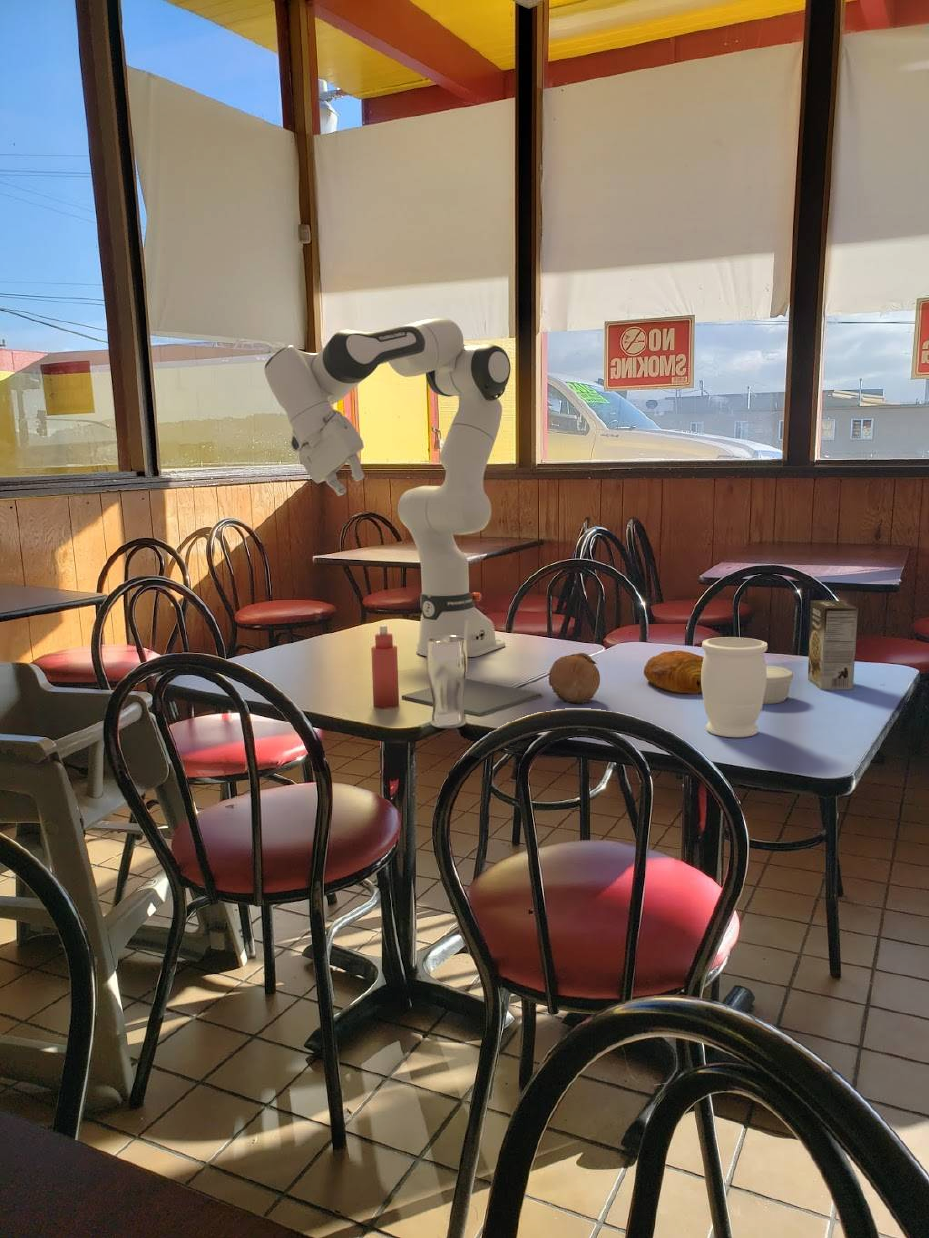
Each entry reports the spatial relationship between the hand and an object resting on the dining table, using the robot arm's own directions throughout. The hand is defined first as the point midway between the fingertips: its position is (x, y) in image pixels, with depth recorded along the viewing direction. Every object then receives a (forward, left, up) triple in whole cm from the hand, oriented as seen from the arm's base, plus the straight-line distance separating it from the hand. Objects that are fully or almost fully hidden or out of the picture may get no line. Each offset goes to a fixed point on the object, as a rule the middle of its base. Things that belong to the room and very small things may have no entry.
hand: (351, 487), depth 191 cm
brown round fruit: (-15, +44, -40) cm, 61 cm away
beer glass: (+11, +36, -40) cm, 55 cm away
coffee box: (-56, +76, -40) cm, 102 cm away
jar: (-15, +76, -40) cm, 87 cm away
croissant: (-38, +54, -41) cm, 77 cm away
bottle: (+9, +18, -40) cm, 45 cm away
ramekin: (-38, +70, -40) cm, 89 cm away
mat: (-5, +27, -40) cm, 48 cm away
